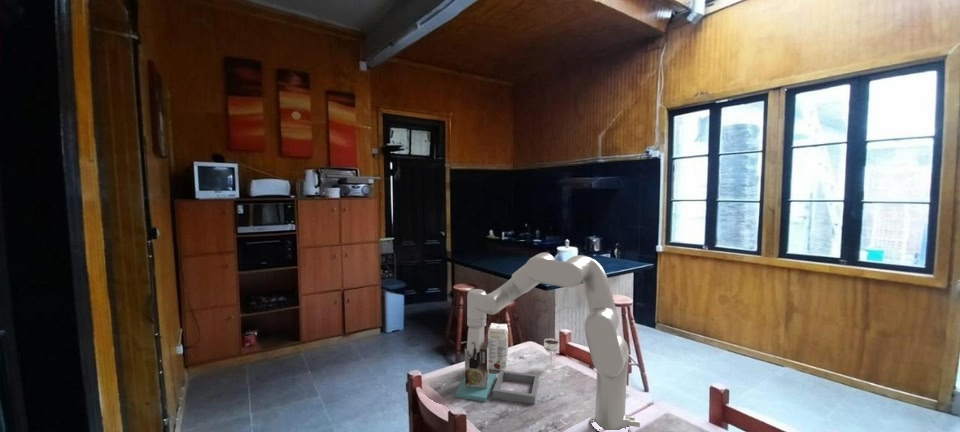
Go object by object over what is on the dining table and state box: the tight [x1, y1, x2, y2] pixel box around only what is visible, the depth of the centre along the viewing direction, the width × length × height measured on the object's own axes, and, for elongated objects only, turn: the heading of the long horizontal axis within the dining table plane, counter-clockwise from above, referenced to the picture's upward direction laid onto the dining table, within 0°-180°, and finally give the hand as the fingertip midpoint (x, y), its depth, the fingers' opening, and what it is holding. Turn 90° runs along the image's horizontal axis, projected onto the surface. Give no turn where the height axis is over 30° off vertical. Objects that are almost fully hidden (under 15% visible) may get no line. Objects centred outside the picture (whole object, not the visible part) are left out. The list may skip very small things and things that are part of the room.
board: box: [454, 372, 497, 402], centre depth 154 cm, size 12×18×2 cm, turn 166°
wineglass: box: [543, 337, 560, 370], centre depth 170 cm, size 7×7×12 cm
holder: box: [492, 370, 540, 405], centre depth 152 cm, size 16×16×3 cm
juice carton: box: [487, 322, 509, 372], centre depth 169 cm, size 8×9×19 cm
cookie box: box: [464, 341, 490, 388], centre depth 153 cm, size 9×6×16 cm
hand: (476, 362), depth 153 cm, fingers open, 9 cm apart
